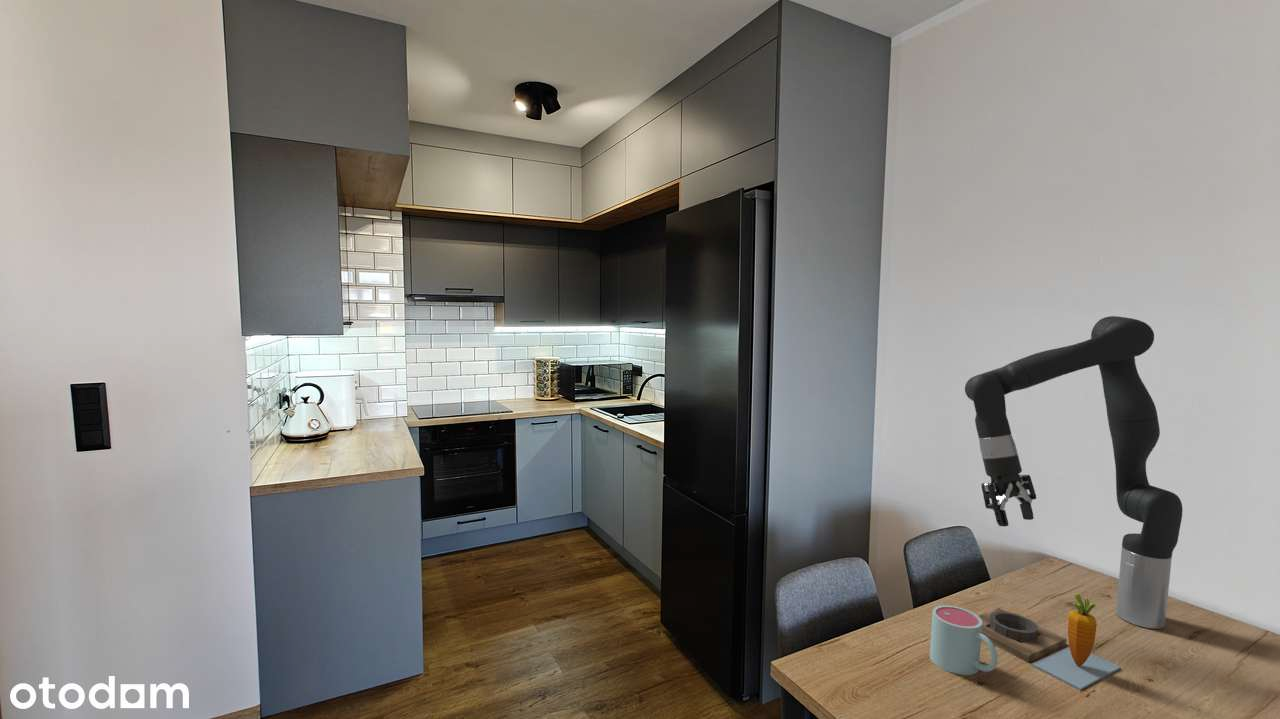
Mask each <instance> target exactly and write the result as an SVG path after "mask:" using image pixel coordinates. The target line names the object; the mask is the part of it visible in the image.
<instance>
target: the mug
mask: <svg viewBox="0 0 1280 719" xmlns="http://www.w3.org/2000/svg"><path fill="white" fill-rule="evenodd" d="M931 617H932V618H931V629H930V632H931V633H930V644H929V645H930V647H929V658H930V661H931V662H932V663H933V664H934V665H935V666H936V667H938V668H940V669H941V670H944V671H946V672H949V673H952V674H956V675H960V676H961V675H962V676H971V675H974V674H977V673H978V672H979V671H981V672H985V673H987V672H992V671H993V670H995V668H996V667H997V665H998V660H999V657H998V656H999V655H998V652H997V649H996V646H995V645H993V643H992V642H991V641H990V639H989V638H988V637H986V636H985V635H984V634H982V620H981V618H980V617H979V615H977V614H976V613H974V612H973V611H971V610H968V609H966V608H962V607H959V606H954V605H938V606H935V607H934V608H933V609H932V616H931ZM981 642H983V643H984V644H985V645H986V646H987V648H988V650H989V652H990V662H989V663H988V664H982V663H980V658H981V644H982V643H981Z"/></svg>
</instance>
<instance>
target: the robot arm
mask: <svg viewBox="0 0 1280 719" xmlns="http://www.w3.org/2000/svg"><path fill="white" fill-rule="evenodd" d="M1154 342H1155V332H1154V330H1153V328H1152V327H1151V326H1150V325H1149V324H1147V323H1146V322H1144V321H1142V320H1139V319H1137V318H1136V319H1135V318H1130V317H1124V316H1116V315H1111V316H1110V315H1109V316H1105V317H1103V318H1101V319H1099V320H1098V321H1097V322H1096V323H1095V324H1094V326H1093V328H1092V329H1091V334H1090V339H1086V340H1084V341H1080V342H1078V343H1077V342H1076V343H1074V344H1071V345H1066V346H1062V347H1058V348H1053V349H1049V350H1048V349H1047V350H1043V351H1040V352H1035V353H1033V354H1030V355H1028V356H1025V357H1022V358H1019V359H1017V360H1014V361H1012V362H1010V363H1008V364H1006V365H1004V366H1002V367H999V368H995V369H993V370H989V371H986V372H983V373H980V374H977V375H974V376H972V377H970V378H969V379H968V380H967V382H966V383H965V385H964V392H965V395H966V397H967V398H968V399H969V400H971V401H972V402H973V406H974V409H975V419H974V421H975V428H976V432H977V436H978V440H979V449H980V453H981V458H982V462H983V466H984V470H985V474H986V476H988V477H990V482H982V483H980V484H981V485H980V486H981V491H982V495H983V500H984V505H985V508H986V509H990V510H992V511H993V512H994V517H995V520H996V524H997V525H998V526H999V527H1009V519H1008V516H1007V513H1006V509H1005V508H1006V503H1007V502H1009V499H1011V498H1015V499H1016V500H1017V501H1018V502H1019V503H1020V504H1019V506H1020V512H1021V515H1022V518H1023V520H1027V521H1028V520H1029V521H1031V520H1034V512H1033V508H1032V503H1033V501H1034V500H1036V499H1037V494H1036V491H1035V487H1034V484H1033V481H1032V478H1031V475H1029V474H1021V473H1022V472H1023V469H1022V465H1021V461H1020V458H1019V453H1018V449H1017V445H1016V443H1015V440H1014V436H1013V435H1012V431H1011V426H1010V424H1009V420H1008V416H1007V409H1006V408H1007V406H1006V395H1008V394H1010V393H1013V392H1016V391H1021V390H1025V389H1028V388H1031V387H1034V386H1036V385H1040V384H1042V383H1045V382H1047V381H1050V380H1053V379H1055V378H1058V377H1061V376H1064V375H1068V374H1070V373H1074V372H1077V371H1081V370H1084V369H1087V368H1092V367H1096V366H1098V368H1099V372H1100V377H1101V382H1102V388H1103V396H1104V400H1105V401H1104V402H1105V407H1106V414H1107V415H1106V417H1107V421H1108V422H1107V423H1108V429H1109V433H1110V436H1111V442H1112V451H1113V457H1114V466H1115V483H1116V484H1115V488H1116V489H1115V490H1116V492H1115V493H1116V494H1115V495H1116V501H1117V504H1118V508H1119V510H1120V512H1121V513H1122V514H1123V515H1125V516H1126V517H1128V518H1130V519H1132V520H1134V521H1137V522H1139V523H1142V527H1141V532H1140V533H1127V534H1125V535H1124V536H1123V538H1122V544H1121V552H1120V563H1119V573H1118V574H1119V575H1118V585H1117V595H1116V605H1115V614H1116V616H1118V617H1119V618H1120V619H1122V620H1123V621H1125V622H1128V623H1130V624H1133V625H1135V626H1138V627H1142V628H1147V629H1154V630H1155V629H1157V630H1160V629H1163V628H1165V626H1166V618H1167V608H1168V598H1169V590H1170V580H1171V579H1170V577H1171V567H1172V558H1173V552H1174V550H1175V548H1176V547H1177V544H1178V542H1179V536H1180V530H1181V524H1182V518H1183V503H1182V501H1181V499H1180V497H1179V495H1177V494H1176V493H1174V492H1172V491H1169V490H1166V489H1164V488H1160V487H1157V486H1154V485H1151V484H1150V483H1149V479H1148V475H1147V462H1148V461H1147V460H1148V458H1149V457H1150V455H1151V453H1152V452H1153V450H1154V449H1155V447H1156V445H1157V443H1158V441H1159V439H1160V434H1161V432H1160V431H1161V430H1160V429H1161V428H1160V424H1159V416H1158V411H1157V408H1156V405H1155V401H1154V400H1153V398H1152V397H1151V394H1150V393H1149V391H1148V389H1147V387H1146V385H1145V383H1144V382H1143V380H1142V379H1141V377H1140V374H1139V372H1138V369H1137V365H1136V358H1135V357H1139V356H1141V355H1143V354H1145V353H1146V352H1147V351H1148V350H1150V348H1151V347H1152V346H1153V344H1154ZM1028 492H1029V493H1028ZM990 499H991V500H990Z"/></svg>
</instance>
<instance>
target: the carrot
mask: <svg viewBox="0 0 1280 719" xmlns="http://www.w3.org/2000/svg"><path fill="white" fill-rule="evenodd" d="M1074 597H1075V599H1076V601H1077V603H1076V602H1073V606H1074V607H1075V608H1076V609H1077V610H1070V611H1069V612H1068V614H1067V615H1068V616H1067V617H1068V618H1067V637H1068V645H1069V646H1070V651H1071V655H1072V657H1073V660H1074V662H1075V664H1076V665H1077V666H1081V665H1083V664H1084V663H1085V661H1086V660H1087V659H1088V657H1089V656H1090V653H1091V654H1092V651H1093V648H1094V645H1095V639H1096V633H1097V626H1098V624H1097V620H1096V617H1094V615H1092V614H1090V612H1091V611H1092V609H1094V608H1095V607H1096V604H1095V603H1094V602H1092V603H1091V602H1090V599H1088V598H1086V597H1085V598H1083V599H1084V602H1083V600H1082V597H1081V594H1080V593H1075V594H1074ZM1069 646H1068V647H1069Z"/></svg>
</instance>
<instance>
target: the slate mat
mask: <svg viewBox="0 0 1280 719" xmlns="http://www.w3.org/2000/svg"><path fill="white" fill-rule="evenodd" d="M1031 666H1032V667H1034V668H1036V669H1038V670H1039V671H1042V672H1044V673H1046V674H1047V675H1050V676H1052V677H1054V678H1055V679H1058V680H1059V681H1062V682H1064V683H1065V684H1067V685H1069V686H1071V687H1073V688H1075V689H1076V690H1079V691H1082V690H1084V689H1085V688H1087V687H1089V686H1091V685H1093V684H1095V683H1096V682H1098V681H1100V680H1102V679H1105V678H1106V677H1108V676H1110V675H1112V674H1113V673H1115V672H1117V671H1119V670H1121V666H1119V665H1117V664H1115V663H1112V662H1110V661H1108V660H1106V659H1104V658H1101V657H1100V656H1097V655H1095V654H1093V653H1092V652H1091V653H1090V656H1089V657H1088V659H1087V660H1086V661H1085V663H1084V664H1083V665H1081V666H1077V665H1076V664H1075V662H1074V660H1073V657H1072V655H1071V651H1070V646H1067V647H1065V648H1062V649H1061V650H1059V651H1057V652H1054V653H1052V654H1051V655H1048V656H1045V657H1044V658H1041V659H1039V660H1038V661H1035V662H1032V663H1031Z"/></svg>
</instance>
